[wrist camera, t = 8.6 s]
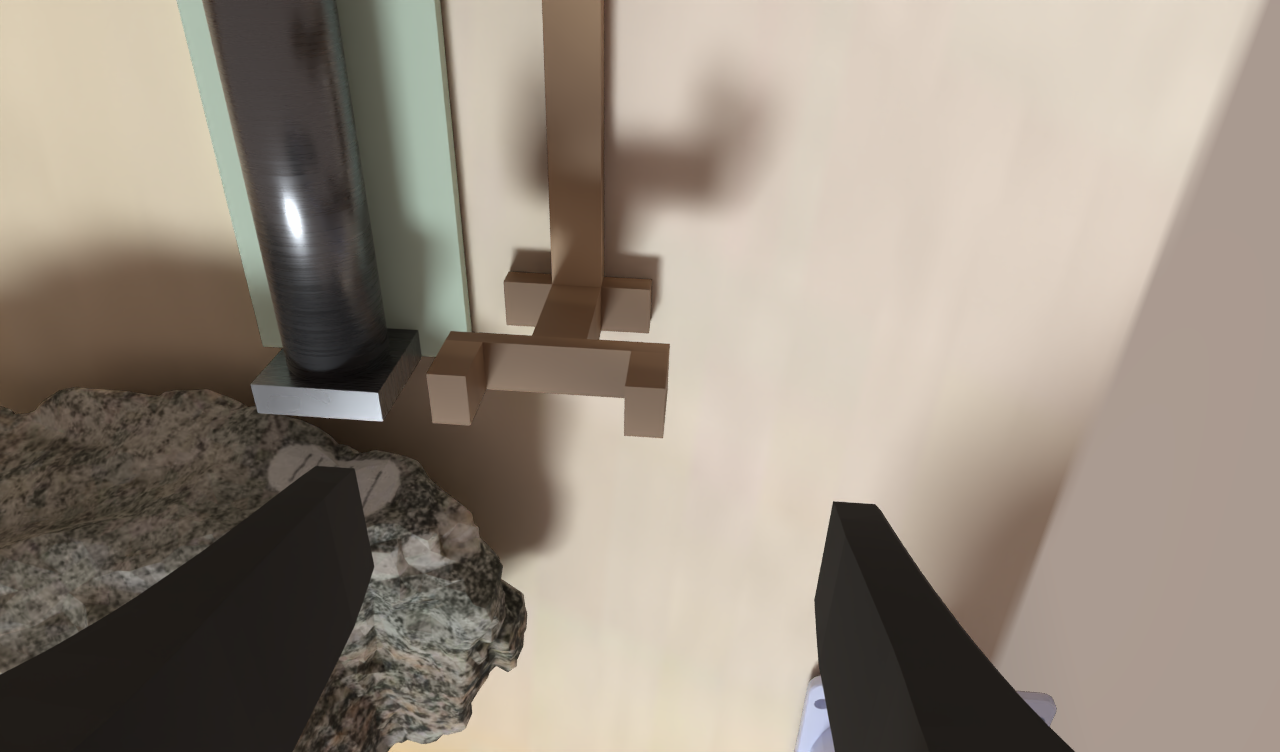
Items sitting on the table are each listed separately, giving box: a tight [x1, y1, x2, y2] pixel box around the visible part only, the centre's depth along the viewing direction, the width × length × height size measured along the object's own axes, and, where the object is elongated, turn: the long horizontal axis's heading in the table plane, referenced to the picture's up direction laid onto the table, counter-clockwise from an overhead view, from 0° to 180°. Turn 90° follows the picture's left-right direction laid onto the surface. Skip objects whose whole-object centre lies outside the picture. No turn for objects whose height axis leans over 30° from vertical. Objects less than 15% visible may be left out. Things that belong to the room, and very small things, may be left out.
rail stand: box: [426, 0, 670, 438], centre depth 17 cm, size 10×5×5 cm, turn 179°
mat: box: [177, 0, 472, 357], centre depth 19 cm, size 12×6×1 cm, turn 179°
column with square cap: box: [202, 0, 422, 422], centre depth 17 cm, size 12×3×3 cm, turn 179°
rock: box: [0, 387, 527, 752], centre depth 23 cm, size 18×10×10 cm
